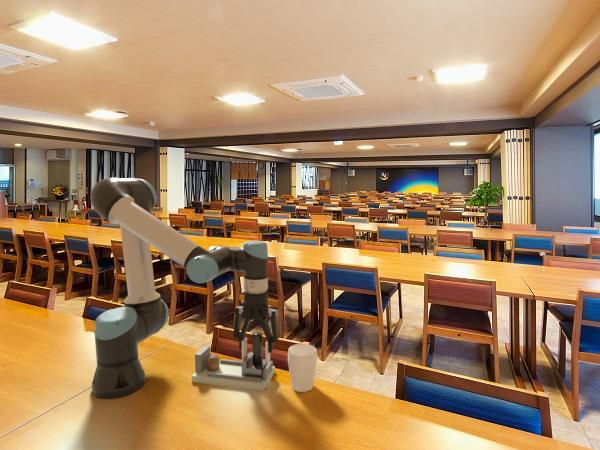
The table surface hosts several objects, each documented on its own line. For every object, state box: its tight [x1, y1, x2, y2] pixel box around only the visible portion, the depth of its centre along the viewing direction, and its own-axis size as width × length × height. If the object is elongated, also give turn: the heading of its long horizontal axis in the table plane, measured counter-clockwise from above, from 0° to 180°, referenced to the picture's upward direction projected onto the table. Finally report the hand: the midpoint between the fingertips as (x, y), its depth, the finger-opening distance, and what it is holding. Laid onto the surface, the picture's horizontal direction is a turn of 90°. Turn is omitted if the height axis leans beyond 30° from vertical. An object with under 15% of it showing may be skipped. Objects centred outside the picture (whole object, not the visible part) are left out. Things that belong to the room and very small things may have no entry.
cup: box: [287, 343, 318, 393], centre depth 117 cm, size 9×9×12 cm
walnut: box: [207, 353, 220, 371], centre depth 125 cm, size 4×4×4 cm
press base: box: [191, 344, 276, 392], centre depth 123 cm, size 24×12×8 cm, turn 77°
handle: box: [241, 331, 267, 378], centre depth 121 cm, size 7×7×13 cm
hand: (256, 360), depth 121 cm, fingers open, 7 cm apart
